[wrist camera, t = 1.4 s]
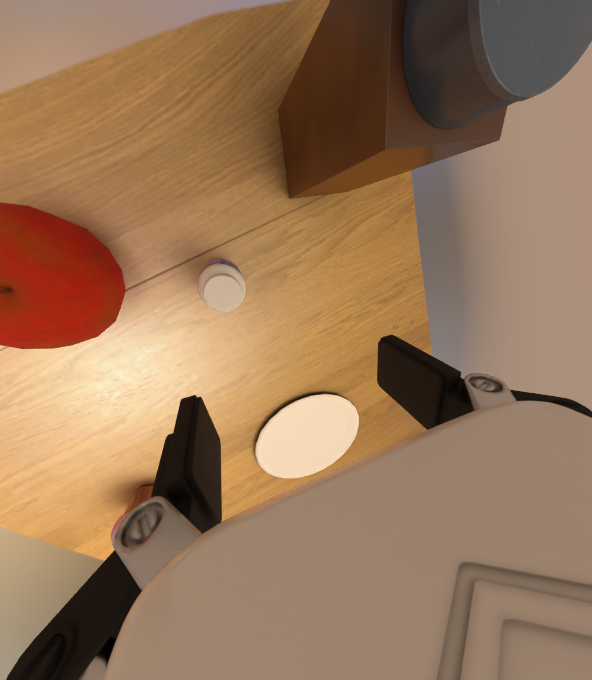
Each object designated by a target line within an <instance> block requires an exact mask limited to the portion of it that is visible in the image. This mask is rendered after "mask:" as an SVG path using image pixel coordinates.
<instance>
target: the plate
mask: <svg viewBox="0 0 592 680" xmlns="http://www.w3.org/2000/svg"><path fill="white" fill-rule="evenodd" d="M358 426H359V416H358V413H357V411H356V408H355V407H354V406H353V405H352V404H351V403H350V402H349V400H347V399H345V398H343V397H341V396H338V395H332V394H318V395H311V396H308V397H305V398H302V399H299V400H296V401H294V402H292V403H291V404H289V405H287V406H285V407H284V408H282V409H281V410H280V411H278V412H277V413H276V414H275V415H274V416H273V417H272V418H270V419H269V421H268V422H267V423H266V425H265V426H264V427H263V429H262V430H261V432H260V434H259V437H258V439H257V442H256V453H255V455H256V458H257V461H258V464H259V465H260V466H261V468H262V469H263V470H264V471H265V472H267V473H269V474H271V475H273V476H275V477H281V478H299V477H303V476H308V475H311V474H313V473H316V472H318V471H321V470H323V469H324V468H326V467H328V466H329V465H331V464H332V463H334V462H335V461H336V460H337V459H338V458H340V457H341V456H342V455H343V454H344V453H345V451H346V450H347V449H348V448H349V447H350V445H351V444H352V442H353V440H354V438H355V437H356V433H357V430H358Z"/></svg>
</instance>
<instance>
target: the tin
mask: <svg viewBox="0 0 592 680" xmlns="http://www.w3.org/2000/svg"><path fill="white" fill-rule="evenodd" d="M591 41H592V0H407V3H406V9H405V15H404V23H403V38H402V52H403V65H404V73H405V78H406V82H407V87H408V90H409V93H410V96H411V98H412V101H413V103H414V105H415V107H416V108H417V110H418V112H419V113H420V114H421V116H422V117H423V118H424V119H425V120H426V121H427V122H428V123H430V124H431V125H433V126H435V127H437V128H441V129H455V128H458V127H461V126H463V125H466V124H468V123H470V122H472V121H475V120H477V119H479V118H481V117H483V116H486V115H488V114H490V113H492V112H495V111H497V110H499V109H501V108H504V107H506V106H508V105H510V104H512V103H515V102H517V101H523V100H526V99H529V98H531V97H534V96H536V95H538V94H541V93H543V92H544V91H546V90H548V89H549V88H551V87H552V86H554V85H555V84H556V83H557V82H559V81H560V80H561V79H562V78H563V77H564V76H565V75H566V74H567V73H568V72H569V71H570V70H571V69H572V67H573V66H574V65H575V64H576V63H577V62H578V60H579V59H580V57H581V56H582V55H583V53H584V52H585V50H586V49H587V48H588V46H589V44H590V43H591Z"/></svg>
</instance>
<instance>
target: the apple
mask: <svg viewBox="0 0 592 680" xmlns="http://www.w3.org/2000/svg"><path fill="white" fill-rule="evenodd" d="M125 291H126V290H125V285H124V280H123V275H122V270H121V268H120V267H119V265H118V264H117V262H116V260H115V259H114V257H113V255H112V254H111V252H110V251H109V249H108V248H107V247H106V246H105V245H104V244H102V243H101V242H100V241H99V240H98V239H97V238H96V237H95V236H93V235H92V234H91V233H90V232H89V231H88V230H87V229H85V228H83V227H80V226H78V225H76V224H73V223H71V222H69V221H66V220H64V219H62V218H59V217H57V216H55V215H52V214H49V213H46V212H44V211H41V210H38V209H36V208H33V207H30V206H25V205H16V204H7V203H0V345H3V346H9V347H14V348H20V349H47V348H59V347H65V346H71V345H74V344H77V343H80V342H83V341H86V340H89V339H92V338H95V337H98V336H99V335H100V334H101V333H102V332H103V331H105V330H106V329H107V328H108V327H109V326H111V325H112V324H113V323H114V322H115V321H116V319H117V316H118V313H119V311H120V308H121V305H122V301H123V298H124V294H125Z"/></svg>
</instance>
